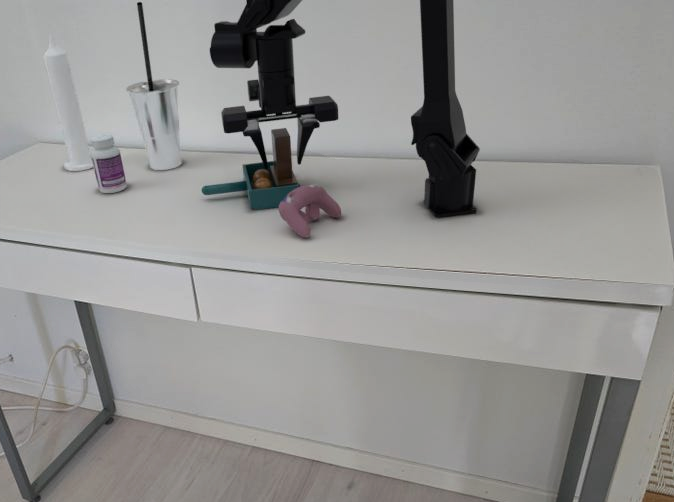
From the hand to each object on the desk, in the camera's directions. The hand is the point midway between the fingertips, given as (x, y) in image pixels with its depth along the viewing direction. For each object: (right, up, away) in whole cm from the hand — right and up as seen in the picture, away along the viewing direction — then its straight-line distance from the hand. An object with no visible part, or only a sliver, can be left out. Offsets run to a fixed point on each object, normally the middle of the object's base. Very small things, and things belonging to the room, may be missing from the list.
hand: (282, 165), depth 114 cm
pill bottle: (-31, -1, +12) cm, 34 cm away
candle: (-41, +7, +25) cm, 49 cm away
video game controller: (+4, -12, -11) cm, 17 cm away
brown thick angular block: (0, -3, +2) cm, 4 cm away
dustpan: (-6, -4, +2) cm, 8 cm away
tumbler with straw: (-22, +6, +20) cm, 31 cm away
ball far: (-3, -1, +3) cm, 5 cm away
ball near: (-3, -4, -1) cm, 5 cm away
